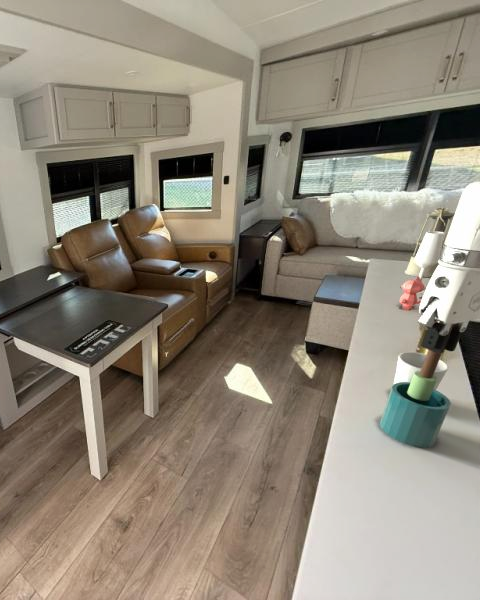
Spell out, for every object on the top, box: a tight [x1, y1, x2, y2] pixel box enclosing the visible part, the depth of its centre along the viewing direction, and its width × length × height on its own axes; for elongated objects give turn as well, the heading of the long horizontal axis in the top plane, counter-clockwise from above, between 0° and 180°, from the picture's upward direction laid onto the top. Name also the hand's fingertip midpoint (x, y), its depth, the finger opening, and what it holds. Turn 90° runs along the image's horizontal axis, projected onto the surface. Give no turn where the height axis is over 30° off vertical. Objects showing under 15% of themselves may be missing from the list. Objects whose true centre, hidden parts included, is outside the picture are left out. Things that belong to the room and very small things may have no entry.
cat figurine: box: [398, 276, 426, 311], centre depth 116 cm, size 7×7×12 cm
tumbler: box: [379, 382, 452, 448], centre depth 67 cm, size 8×8×11 cm
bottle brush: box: [407, 321, 454, 401], centre depth 62 cm, size 3×3×17 cm
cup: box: [392, 351, 449, 391], centre depth 75 cm, size 8×8×12 cm
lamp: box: [404, 206, 455, 278], centre depth 138 cm, size 10×13×30 cm
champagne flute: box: [414, 231, 445, 294], centre depth 126 cm, size 7×7×24 cm
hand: (437, 348), depth 61 cm, fingers closed on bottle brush
